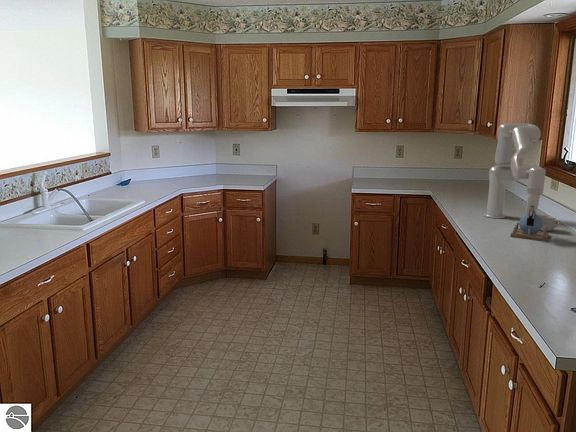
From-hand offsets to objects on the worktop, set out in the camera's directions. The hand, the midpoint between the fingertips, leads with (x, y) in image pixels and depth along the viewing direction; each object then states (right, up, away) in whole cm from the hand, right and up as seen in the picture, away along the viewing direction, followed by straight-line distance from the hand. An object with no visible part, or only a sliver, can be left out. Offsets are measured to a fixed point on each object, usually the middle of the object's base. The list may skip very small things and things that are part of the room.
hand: (530, 223), depth 255 cm
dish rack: (+1, -7, +4) cm, 8 cm away
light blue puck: (0, -6, +1) cm, 6 cm away
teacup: (+16, -4, +15) cm, 23 cm away
